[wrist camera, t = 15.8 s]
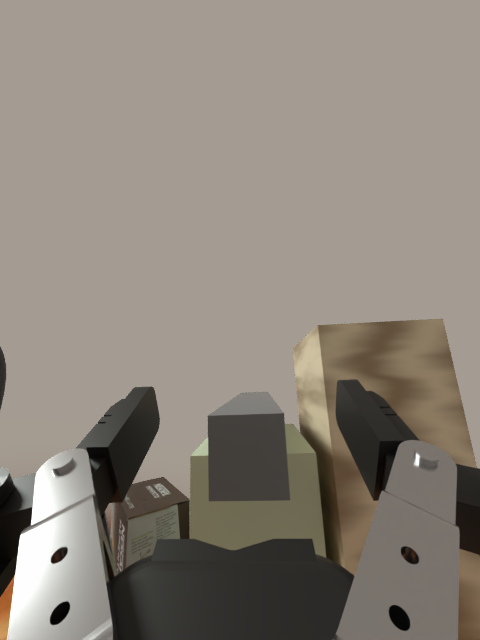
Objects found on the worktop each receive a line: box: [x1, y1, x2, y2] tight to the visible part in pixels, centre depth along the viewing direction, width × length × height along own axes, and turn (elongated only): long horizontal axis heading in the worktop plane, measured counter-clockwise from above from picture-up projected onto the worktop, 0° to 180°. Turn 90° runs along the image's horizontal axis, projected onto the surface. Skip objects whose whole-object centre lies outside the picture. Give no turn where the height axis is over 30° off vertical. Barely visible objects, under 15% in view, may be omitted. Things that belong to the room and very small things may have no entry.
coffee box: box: [110, 477, 190, 573], centre depth 27 cm, size 9×6×16 cm
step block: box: [190, 424, 326, 558], centre depth 25 cm, size 10×14×22 cm
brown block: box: [293, 319, 480, 640], centre depth 25 cm, size 10×16×32 cm, turn 176°
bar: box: [208, 392, 290, 501], centre depth 26 cm, size 4×26×4 cm, turn 176°
